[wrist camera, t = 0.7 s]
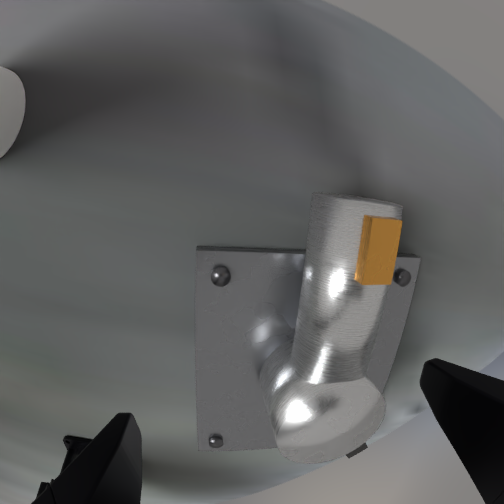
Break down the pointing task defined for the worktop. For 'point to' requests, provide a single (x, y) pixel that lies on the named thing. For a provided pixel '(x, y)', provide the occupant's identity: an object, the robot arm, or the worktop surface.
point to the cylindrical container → (10, 108)
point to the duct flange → (264, 336)
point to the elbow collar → (334, 331)
